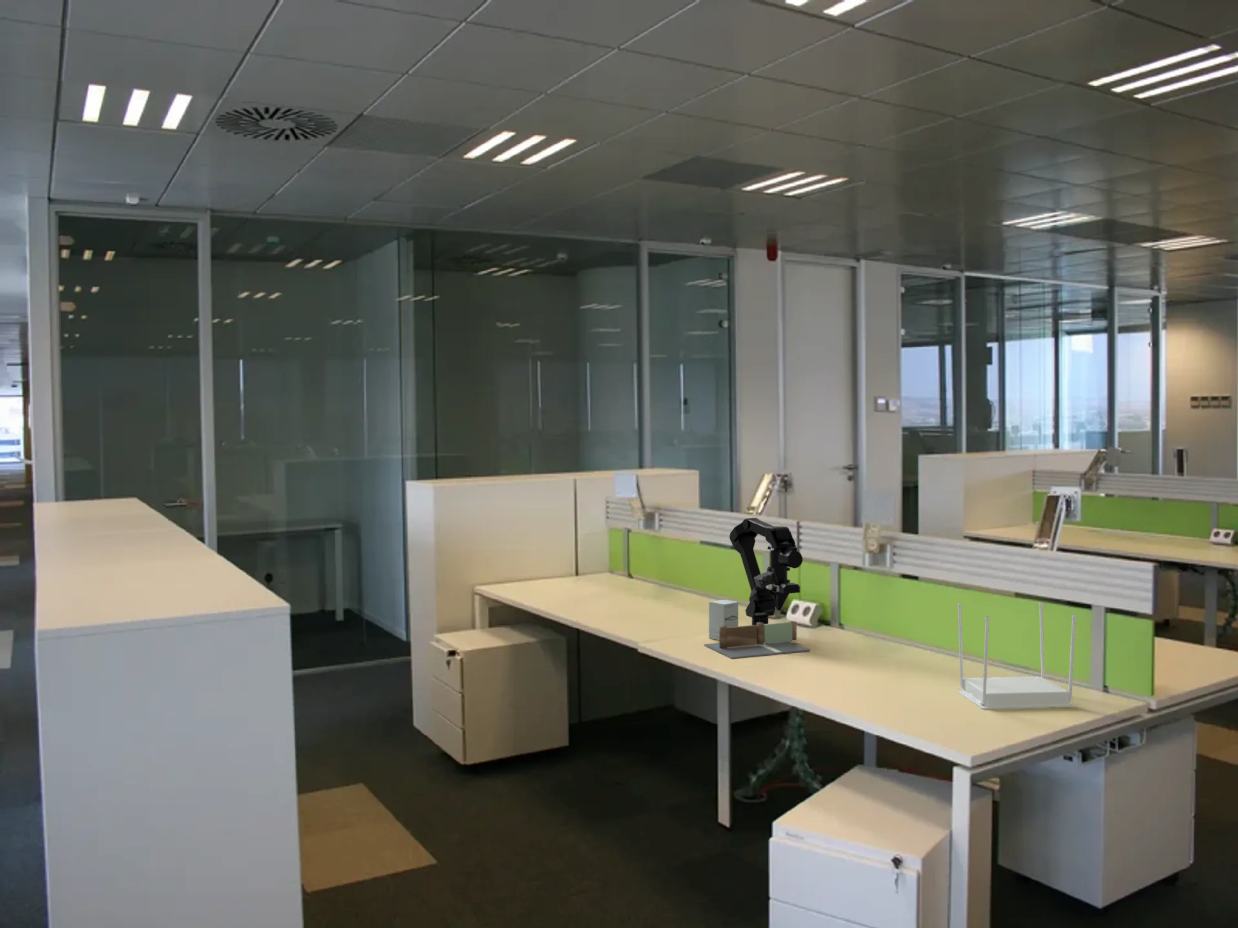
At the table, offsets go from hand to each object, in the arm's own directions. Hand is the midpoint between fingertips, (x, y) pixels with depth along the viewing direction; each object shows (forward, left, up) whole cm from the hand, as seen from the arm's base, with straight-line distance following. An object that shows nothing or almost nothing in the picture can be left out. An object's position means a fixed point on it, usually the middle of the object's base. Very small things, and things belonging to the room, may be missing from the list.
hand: (778, 610), depth 346 cm
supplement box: (-10, -15, -11) cm, 21 cm away
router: (+87, +23, -11) cm, 90 cm away
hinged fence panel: (+5, -2, -9) cm, 11 cm away
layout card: (+8, -12, -10) cm, 18 cm away
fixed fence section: (+5, -16, -10) cm, 19 cm away
